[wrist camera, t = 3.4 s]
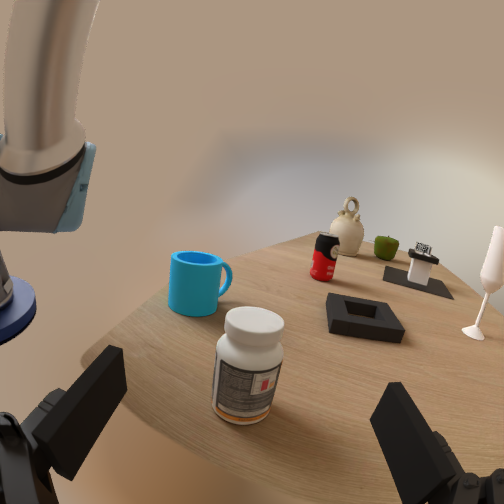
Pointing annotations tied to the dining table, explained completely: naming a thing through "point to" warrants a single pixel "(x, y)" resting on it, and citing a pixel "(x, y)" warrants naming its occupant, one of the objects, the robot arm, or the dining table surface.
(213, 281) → the mug
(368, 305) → the dock pad
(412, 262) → the black-topped pedestal
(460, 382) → the dining table surface
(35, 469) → the robot arm
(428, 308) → the dining table surface
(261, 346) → the pill bottle
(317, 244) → the beverage can
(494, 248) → the champagne flute
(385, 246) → the apple
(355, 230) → the jug
